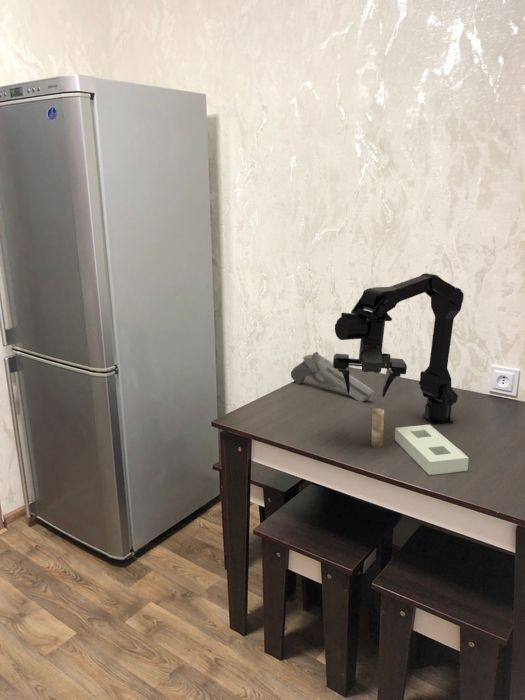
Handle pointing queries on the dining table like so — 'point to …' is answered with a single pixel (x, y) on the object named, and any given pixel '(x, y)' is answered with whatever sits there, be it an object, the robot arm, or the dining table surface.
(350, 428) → the dining table surface
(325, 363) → the handgun
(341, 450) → the dining table surface
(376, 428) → the dowel
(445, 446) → the socket block
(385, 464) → the dining table surface
